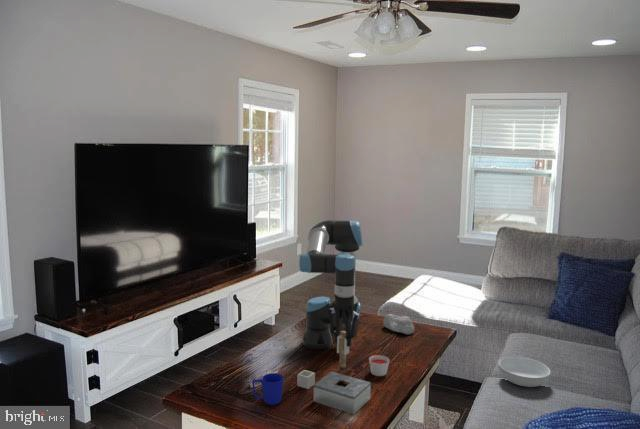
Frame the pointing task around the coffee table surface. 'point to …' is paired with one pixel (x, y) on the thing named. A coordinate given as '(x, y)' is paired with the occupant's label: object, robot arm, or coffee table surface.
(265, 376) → the mug
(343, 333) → the peg
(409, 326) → the decorative stone
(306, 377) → the hollow square box
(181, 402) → the coffee table surface
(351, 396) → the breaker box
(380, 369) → the candle
